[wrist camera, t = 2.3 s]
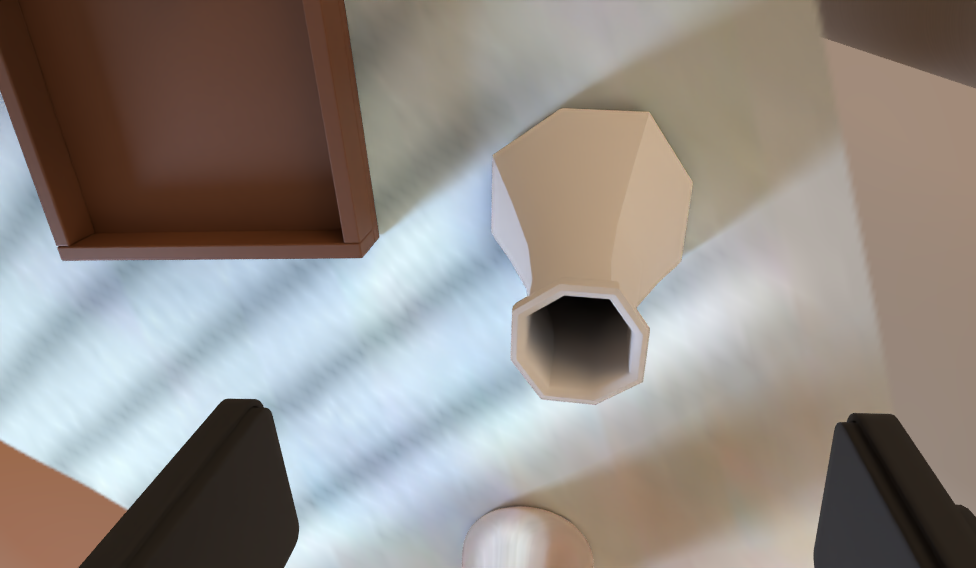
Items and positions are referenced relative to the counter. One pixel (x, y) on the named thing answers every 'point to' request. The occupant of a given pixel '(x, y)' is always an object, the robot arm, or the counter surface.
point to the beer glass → (525, 541)
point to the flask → (587, 245)
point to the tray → (190, 127)
